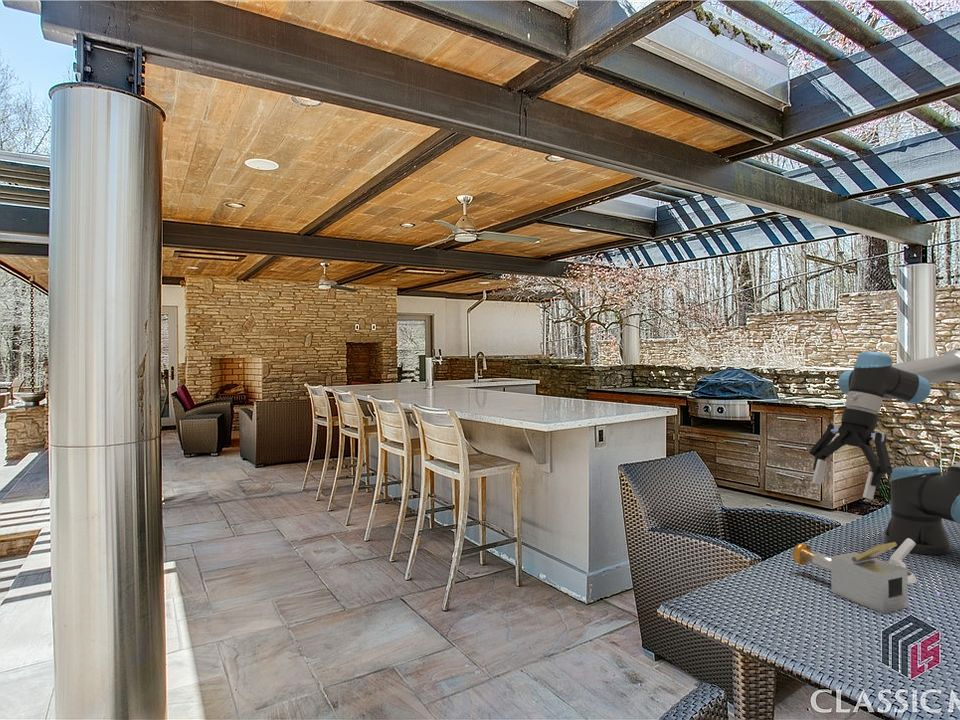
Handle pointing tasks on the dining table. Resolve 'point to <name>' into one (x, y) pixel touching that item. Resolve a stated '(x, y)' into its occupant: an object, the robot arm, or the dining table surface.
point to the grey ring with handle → (899, 556)
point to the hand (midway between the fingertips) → (840, 490)
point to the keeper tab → (873, 552)
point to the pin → (810, 557)
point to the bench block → (870, 582)
